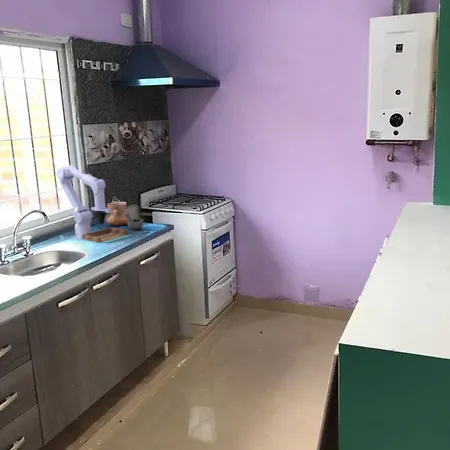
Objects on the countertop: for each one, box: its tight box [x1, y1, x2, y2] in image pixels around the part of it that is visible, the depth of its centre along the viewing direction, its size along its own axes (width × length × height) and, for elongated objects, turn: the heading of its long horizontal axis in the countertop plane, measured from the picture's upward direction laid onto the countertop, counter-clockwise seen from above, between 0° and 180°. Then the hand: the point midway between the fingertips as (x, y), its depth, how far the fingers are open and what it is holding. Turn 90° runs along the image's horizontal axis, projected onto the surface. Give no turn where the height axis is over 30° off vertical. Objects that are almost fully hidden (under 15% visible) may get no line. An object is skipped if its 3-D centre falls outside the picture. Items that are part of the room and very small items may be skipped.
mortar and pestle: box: [124, 212, 144, 231], centre depth 325 cm, size 11×9×12 cm
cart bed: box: [81, 227, 129, 244], centre depth 310 cm, size 15×21×4 cm
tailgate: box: [102, 234, 134, 244], centre depth 303 cm, size 1×18×6 cm
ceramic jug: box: [106, 201, 128, 227], centre depth 345 cm, size 18×14×14 cm
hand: (101, 223), depth 308 cm, fingers closed
